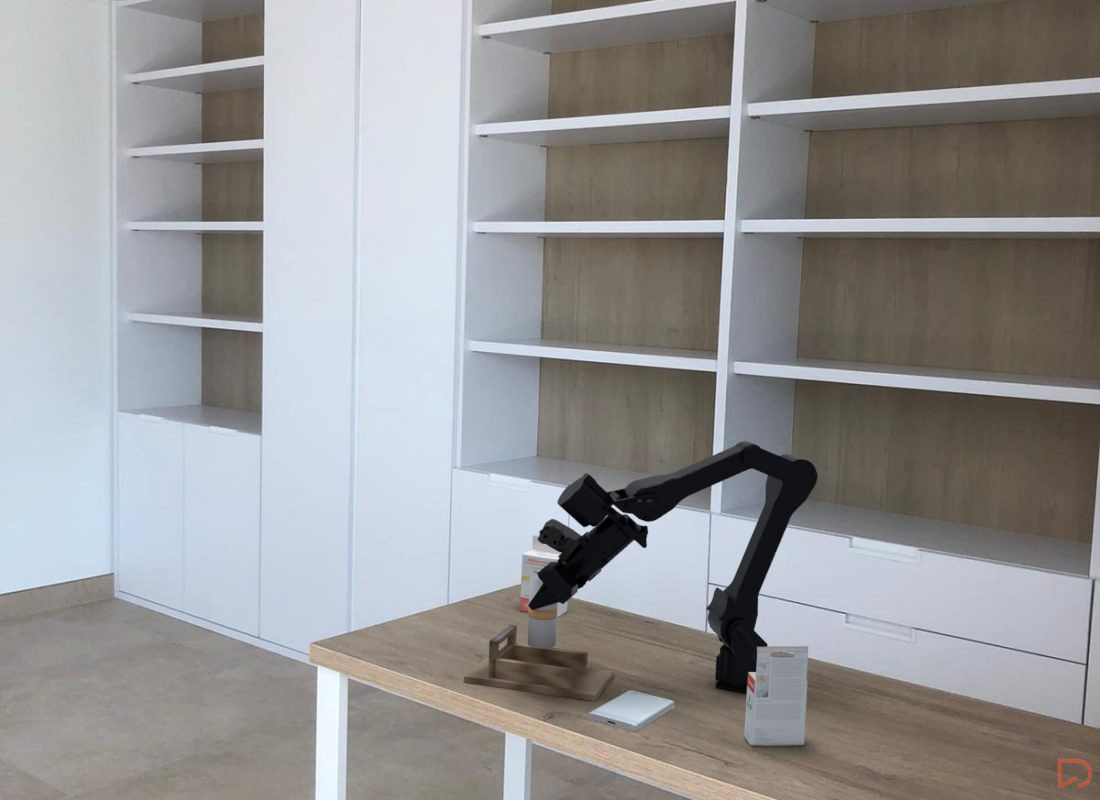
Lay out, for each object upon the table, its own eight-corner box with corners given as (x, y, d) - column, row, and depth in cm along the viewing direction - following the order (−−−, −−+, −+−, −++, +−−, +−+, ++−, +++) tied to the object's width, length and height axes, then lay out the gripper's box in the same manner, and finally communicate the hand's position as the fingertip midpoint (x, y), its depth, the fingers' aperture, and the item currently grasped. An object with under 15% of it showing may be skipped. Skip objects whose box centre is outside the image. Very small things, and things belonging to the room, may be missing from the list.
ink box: (743, 737, 165) (748, 638, 163) (796, 736, 165) (802, 639, 164) (750, 747, 161) (755, 646, 160) (804, 746, 162) (810, 647, 160)
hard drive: (628, 689, 180) (587, 711, 170) (675, 700, 175) (635, 724, 165) (628, 699, 180) (587, 722, 170) (674, 711, 176) (635, 735, 165)
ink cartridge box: (518, 611, 225) (521, 538, 224) (529, 605, 229) (531, 534, 228) (558, 617, 222) (561, 543, 220) (568, 611, 226) (571, 539, 225)
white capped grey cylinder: (560, 642, 186) (562, 576, 185) (549, 650, 182) (551, 583, 181) (534, 638, 188) (536, 573, 187) (522, 646, 184) (524, 579, 183)
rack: (614, 677, 188) (615, 636, 188) (595, 701, 177) (596, 657, 176) (490, 660, 195) (491, 620, 194) (463, 682, 183) (465, 640, 183)
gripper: (585, 495, 191) (521, 554, 195) (552, 515, 173) (482, 579, 177) (629, 546, 189) (564, 603, 193) (600, 571, 171) (529, 634, 176)
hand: (535, 603), depth 185 cm, fingers closed on white capped grey cylinder, 5 cm apart
